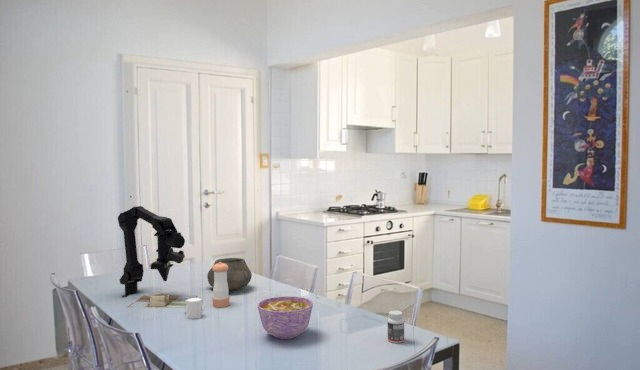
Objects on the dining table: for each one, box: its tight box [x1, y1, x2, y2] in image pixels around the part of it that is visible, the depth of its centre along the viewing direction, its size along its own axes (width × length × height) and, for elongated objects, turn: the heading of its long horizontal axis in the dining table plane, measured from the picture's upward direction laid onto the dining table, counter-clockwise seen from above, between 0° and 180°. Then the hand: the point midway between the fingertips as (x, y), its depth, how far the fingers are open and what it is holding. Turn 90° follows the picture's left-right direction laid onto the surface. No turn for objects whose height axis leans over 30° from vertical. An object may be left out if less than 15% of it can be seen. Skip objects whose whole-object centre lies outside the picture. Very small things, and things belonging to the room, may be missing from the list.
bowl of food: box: [257, 295, 314, 340], centre depth 185 cm, size 20×20×12 cm
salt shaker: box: [211, 262, 231, 308], centre depth 224 cm, size 7×7×19 cm
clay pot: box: [206, 257, 253, 292], centre depth 250 cm, size 22×21×15 cm
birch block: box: [149, 292, 170, 306], centre depth 222 cm, size 6×6×4 cm
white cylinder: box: [185, 297, 204, 320], centre depth 209 cm, size 7×7×7 cm
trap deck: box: [127, 295, 198, 308], centre depth 227 cm, size 18×26×2 cm
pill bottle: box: [387, 310, 405, 344], centre depth 178 cm, size 6×6×10 cm
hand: (165, 281), depth 229 cm, fingers closed
